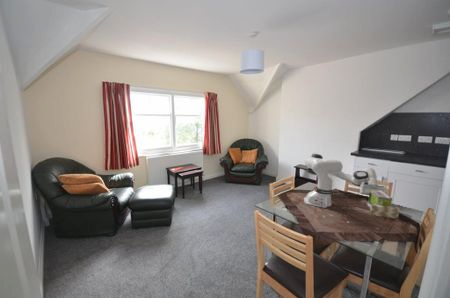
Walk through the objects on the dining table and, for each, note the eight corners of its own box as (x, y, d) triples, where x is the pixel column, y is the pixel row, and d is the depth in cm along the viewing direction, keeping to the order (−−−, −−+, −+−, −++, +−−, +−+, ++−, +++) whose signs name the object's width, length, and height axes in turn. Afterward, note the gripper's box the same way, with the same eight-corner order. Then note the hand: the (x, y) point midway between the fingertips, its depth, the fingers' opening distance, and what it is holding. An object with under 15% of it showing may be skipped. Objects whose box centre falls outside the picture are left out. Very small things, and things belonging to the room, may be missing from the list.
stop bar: (370, 215, 161) (372, 205, 159) (369, 213, 163) (370, 204, 162) (397, 218, 156) (399, 209, 154) (395, 216, 159) (397, 207, 157)
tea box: (389, 215, 160) (393, 198, 157) (374, 214, 162) (378, 196, 159) (380, 206, 174) (383, 190, 171) (366, 205, 177) (369, 189, 174)
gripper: (384, 187, 182) (387, 202, 175) (358, 185, 187) (360, 199, 180) (387, 184, 177) (391, 200, 169) (360, 182, 182) (363, 197, 175)
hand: (375, 200), depth 175 cm, fingers closed, pressing on tea box
